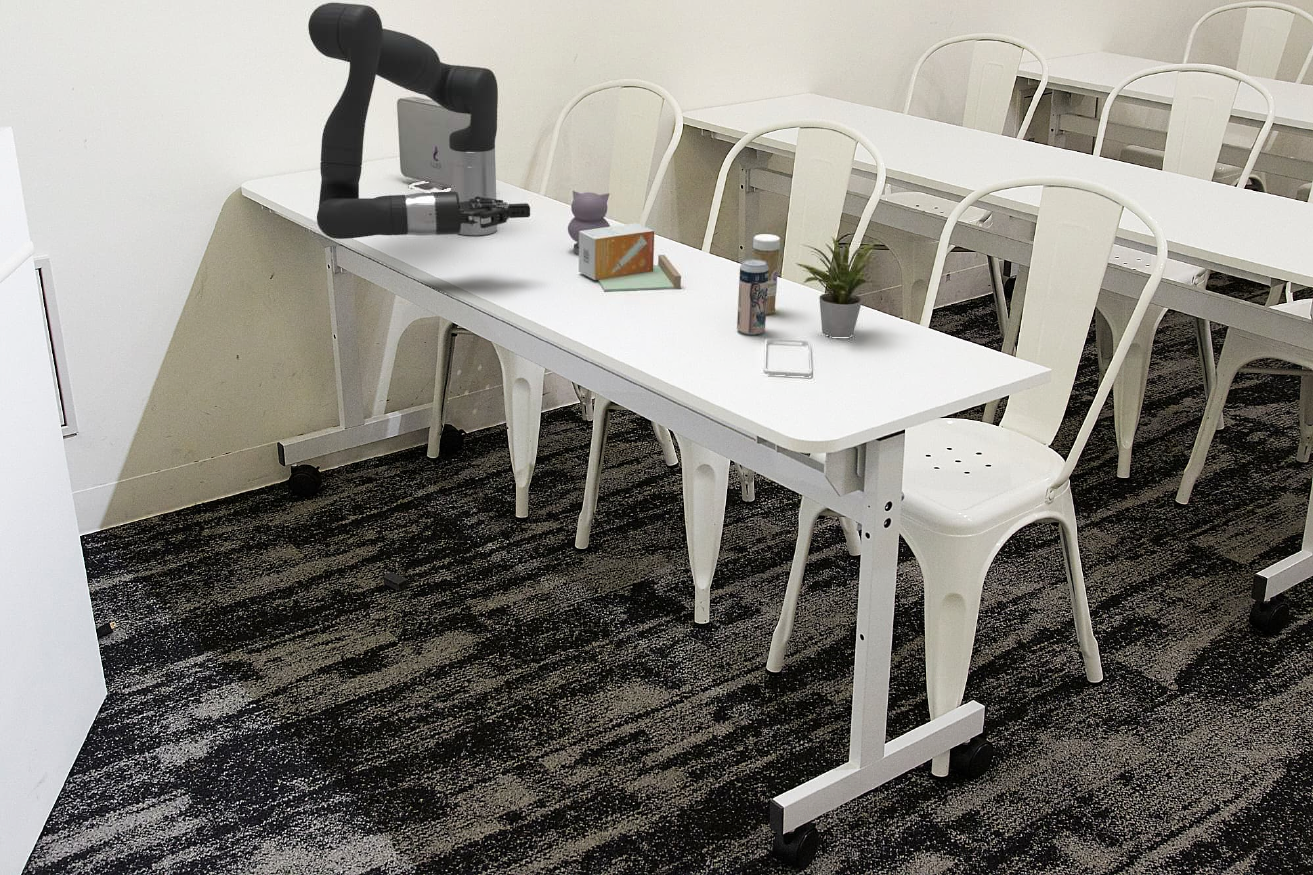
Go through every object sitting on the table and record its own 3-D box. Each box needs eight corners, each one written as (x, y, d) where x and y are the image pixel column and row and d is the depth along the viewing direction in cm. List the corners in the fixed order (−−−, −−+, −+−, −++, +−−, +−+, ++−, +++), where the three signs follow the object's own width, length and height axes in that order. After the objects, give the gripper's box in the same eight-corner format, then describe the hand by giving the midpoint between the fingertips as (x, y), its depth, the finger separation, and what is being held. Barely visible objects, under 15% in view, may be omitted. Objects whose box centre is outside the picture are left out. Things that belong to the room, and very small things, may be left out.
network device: (393, 184, 311) (388, 98, 303) (422, 179, 317) (418, 94, 309) (467, 203, 296) (464, 113, 288) (495, 197, 302) (493, 108, 294)
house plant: (833, 312, 231) (841, 221, 224) (898, 332, 222) (908, 238, 215) (780, 330, 222) (787, 235, 215) (845, 351, 213) (854, 253, 206)
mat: (591, 269, 251) (591, 257, 250) (664, 266, 254) (664, 254, 253) (604, 291, 239) (604, 278, 238) (680, 288, 242) (680, 275, 241)
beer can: (756, 338, 218) (760, 268, 213) (731, 332, 220) (734, 263, 215) (770, 330, 221) (774, 261, 217) (745, 325, 224) (748, 256, 219)
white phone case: (811, 381, 202) (809, 348, 215) (812, 373, 201) (810, 340, 215) (763, 378, 202) (764, 346, 216) (763, 370, 202) (765, 338, 215)
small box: (594, 239, 240) (655, 229, 247) (577, 230, 245) (637, 222, 251) (594, 281, 243) (654, 271, 250) (578, 272, 248) (636, 262, 255)
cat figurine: (562, 255, 260) (562, 195, 255) (575, 245, 267) (575, 186, 262) (603, 259, 258) (603, 199, 253) (615, 249, 265) (616, 190, 260)
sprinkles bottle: (772, 317, 228) (777, 241, 223) (746, 313, 229) (750, 238, 224) (778, 309, 232) (783, 234, 227) (753, 306, 233) (757, 232, 228)
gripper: (433, 202, 227) (533, 199, 230) (429, 184, 238) (524, 180, 242) (436, 244, 230) (534, 240, 233) (431, 224, 242) (525, 220, 245)
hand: (529, 210), depth 238 cm, fingers closed
